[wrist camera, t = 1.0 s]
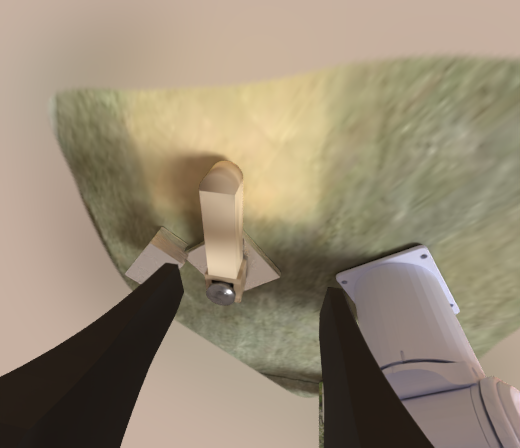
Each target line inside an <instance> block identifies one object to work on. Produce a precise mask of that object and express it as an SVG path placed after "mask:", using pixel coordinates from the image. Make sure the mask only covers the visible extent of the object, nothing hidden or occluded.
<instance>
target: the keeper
mask: <svg viewBox="0 0 520 448" xmlns="http://www.w3.org/2000/svg"><path fill="white" fill-rule="evenodd" d="M187 245H188V244H187V243H185V242H184V241H183V240H181V239H180V238H178V237H177V236H175V235H174V234H173V233H171V232H170V231H168V230H167V229H165V228H164V227H161V229H160V230H159V231H158V232H157V234H156V235H155V236H154V237H153V238H152V240H151V241H150V242H149V244H148V245H147V246H146V247H145V249H144V250H143V251H142V252H141V254H140V255H139V256H138V258H137V259H136V260H135V261H134V263H133V264H132V265H131V266H130V268H129V269H128V270H127V271H126V273H125V274H124V275H126V276H128V277H129V278H131V279H133V280H134V281H136V282H138V283H139V284H142V283H143V282H144V281H145V280H146V279H148V278H149V277H150V276H151V275H152V274H153V273H154V272H155V271H157V270H158V269H159V268H160V267H161V266H162V265H163V264H164V263H173V264H178V267H179V269H180V268H181V267H182V266H183V265H184V263H185V262H186V260H187V258H188V256H189V254H188V253H186V252H185V251H184V250H185V248H186V246H187Z"/></svg>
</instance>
